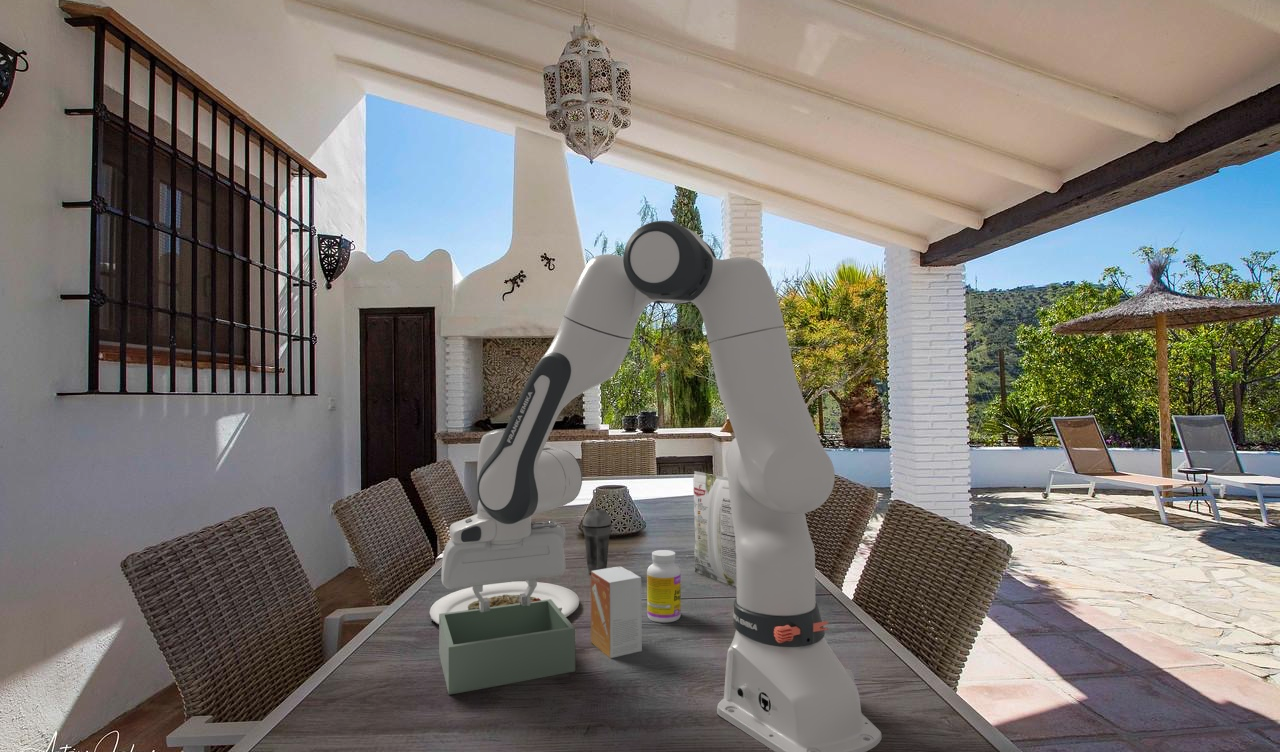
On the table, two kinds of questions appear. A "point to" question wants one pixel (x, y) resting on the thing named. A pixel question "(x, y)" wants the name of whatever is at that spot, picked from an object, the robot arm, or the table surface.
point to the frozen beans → (714, 528)
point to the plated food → (505, 597)
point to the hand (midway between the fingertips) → (505, 608)
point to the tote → (504, 645)
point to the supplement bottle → (663, 588)
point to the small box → (616, 611)
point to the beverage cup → (596, 537)
